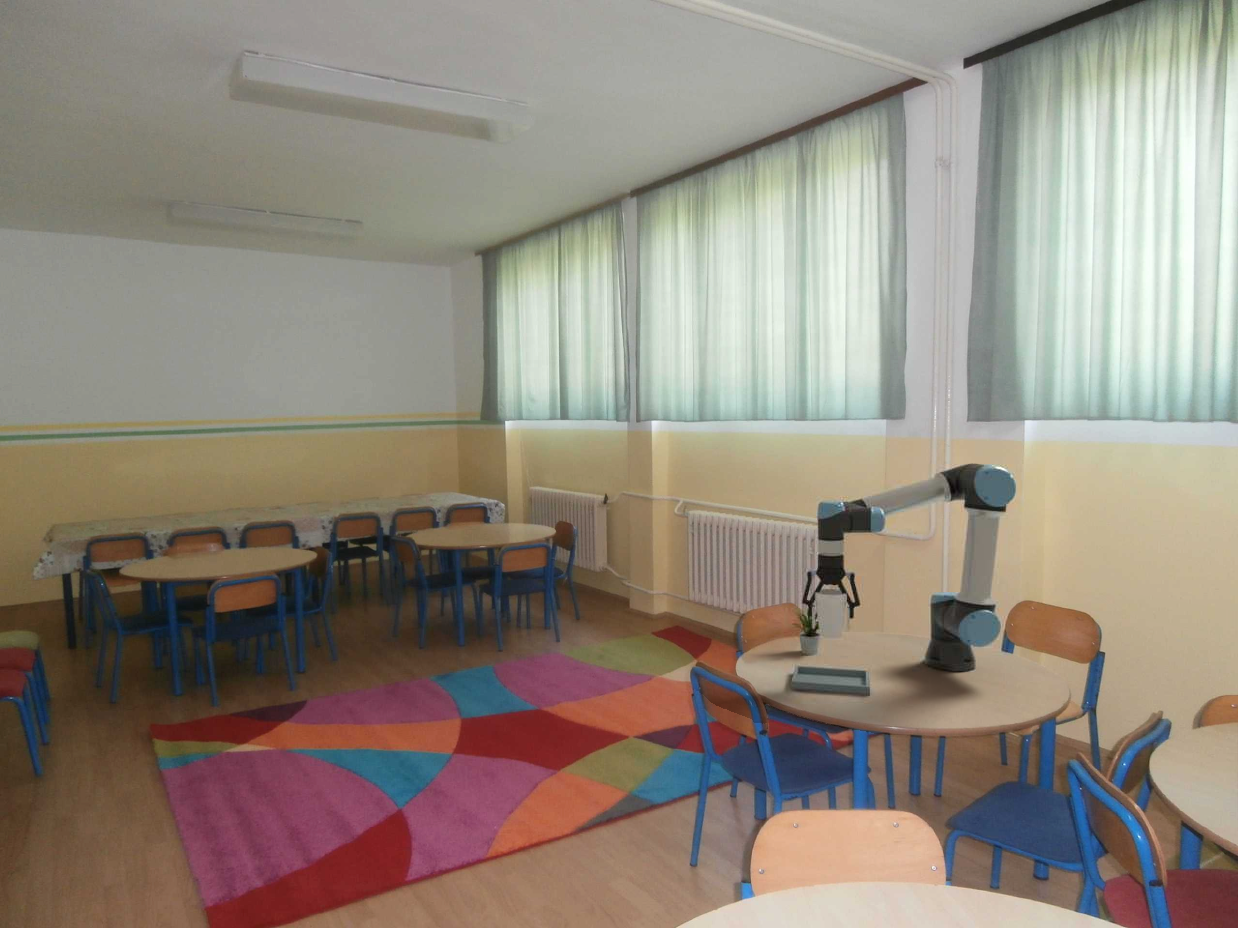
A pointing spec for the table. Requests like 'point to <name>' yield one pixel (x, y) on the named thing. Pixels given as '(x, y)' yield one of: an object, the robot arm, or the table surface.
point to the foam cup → (830, 612)
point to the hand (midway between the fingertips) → (830, 628)
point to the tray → (831, 680)
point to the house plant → (808, 634)
